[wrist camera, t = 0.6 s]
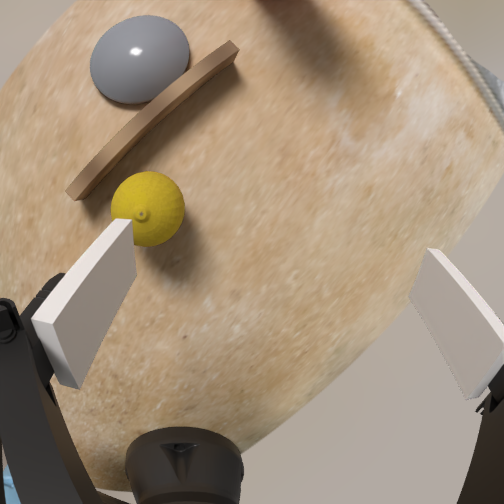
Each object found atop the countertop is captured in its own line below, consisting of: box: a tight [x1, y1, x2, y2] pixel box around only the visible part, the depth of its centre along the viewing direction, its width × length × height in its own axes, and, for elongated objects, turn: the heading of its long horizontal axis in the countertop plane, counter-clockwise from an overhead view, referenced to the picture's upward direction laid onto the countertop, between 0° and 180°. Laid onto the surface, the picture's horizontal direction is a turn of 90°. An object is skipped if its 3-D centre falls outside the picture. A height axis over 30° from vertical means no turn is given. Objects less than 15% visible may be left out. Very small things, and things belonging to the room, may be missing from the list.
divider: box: [65, 40, 239, 201], centre depth 23 cm, size 18×1×3 cm, turn 132°
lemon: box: [111, 171, 185, 247], centre depth 22 cm, size 6×6×8 cm
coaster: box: [90, 15, 189, 104], centre depth 22 cm, size 9×9×1 cm
